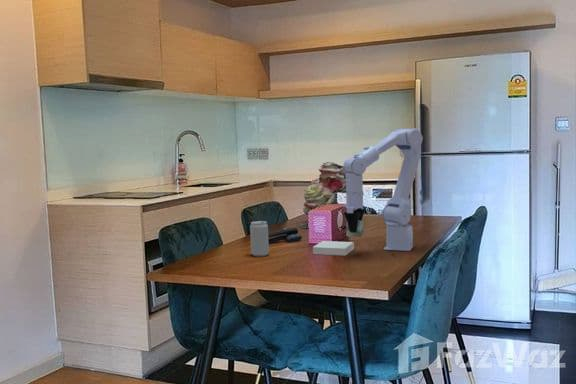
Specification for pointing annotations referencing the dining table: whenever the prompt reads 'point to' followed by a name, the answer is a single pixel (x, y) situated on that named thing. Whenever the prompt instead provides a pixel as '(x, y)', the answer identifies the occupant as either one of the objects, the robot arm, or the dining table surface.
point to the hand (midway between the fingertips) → (355, 231)
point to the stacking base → (333, 248)
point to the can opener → (289, 236)
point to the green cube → (359, 229)
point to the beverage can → (259, 238)
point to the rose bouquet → (325, 188)
